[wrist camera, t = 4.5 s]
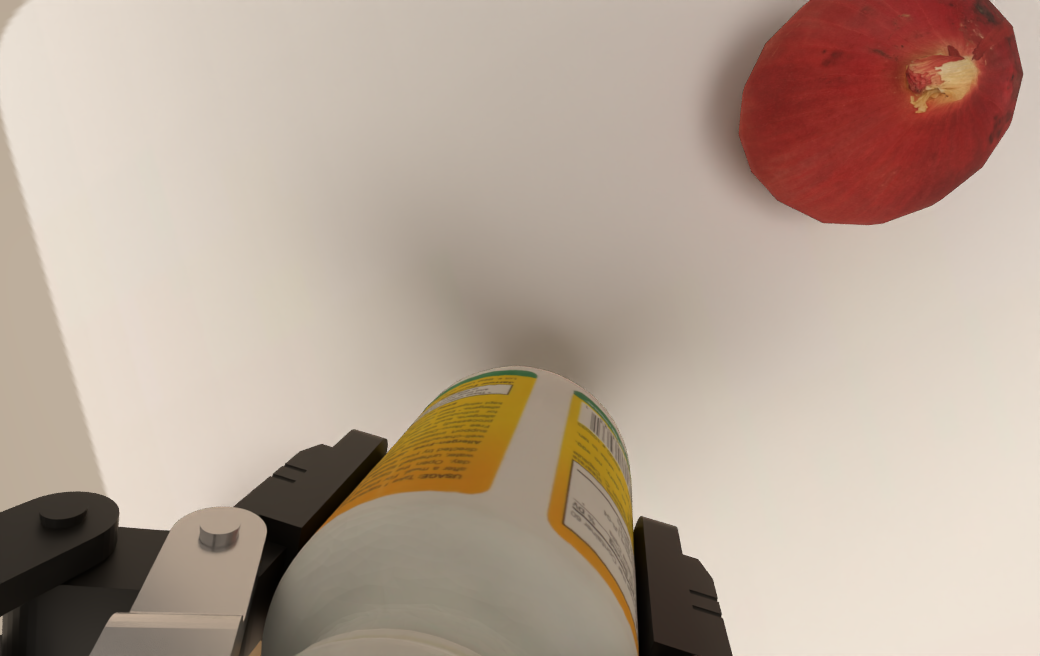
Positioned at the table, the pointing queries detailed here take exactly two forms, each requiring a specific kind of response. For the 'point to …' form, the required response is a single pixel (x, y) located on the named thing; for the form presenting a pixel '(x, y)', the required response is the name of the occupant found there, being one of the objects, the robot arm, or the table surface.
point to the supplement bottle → (476, 535)
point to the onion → (878, 104)
